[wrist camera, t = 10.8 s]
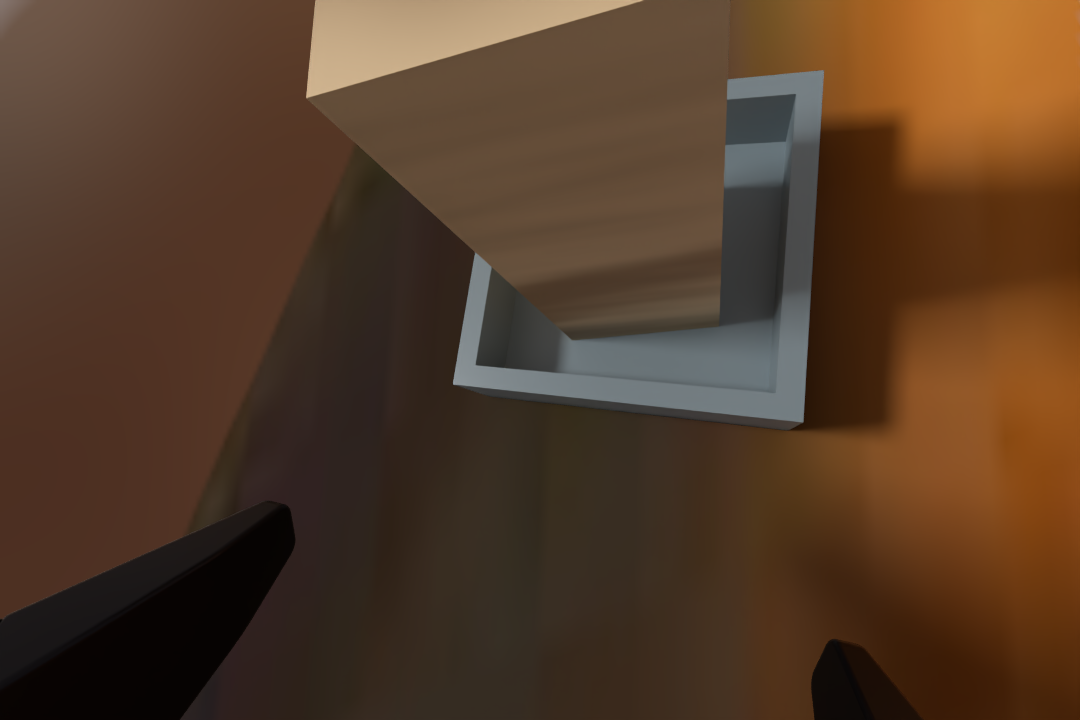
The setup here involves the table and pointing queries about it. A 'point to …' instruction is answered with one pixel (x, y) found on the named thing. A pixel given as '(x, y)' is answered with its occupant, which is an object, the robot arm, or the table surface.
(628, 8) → the oak handle block
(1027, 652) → the table surface
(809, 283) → the tray
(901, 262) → the table surface
